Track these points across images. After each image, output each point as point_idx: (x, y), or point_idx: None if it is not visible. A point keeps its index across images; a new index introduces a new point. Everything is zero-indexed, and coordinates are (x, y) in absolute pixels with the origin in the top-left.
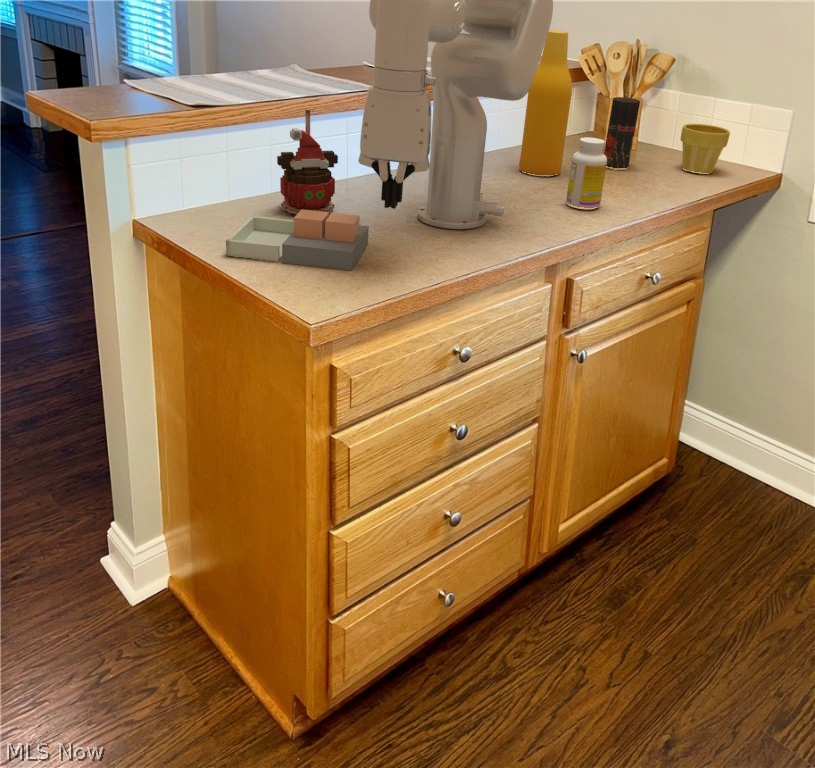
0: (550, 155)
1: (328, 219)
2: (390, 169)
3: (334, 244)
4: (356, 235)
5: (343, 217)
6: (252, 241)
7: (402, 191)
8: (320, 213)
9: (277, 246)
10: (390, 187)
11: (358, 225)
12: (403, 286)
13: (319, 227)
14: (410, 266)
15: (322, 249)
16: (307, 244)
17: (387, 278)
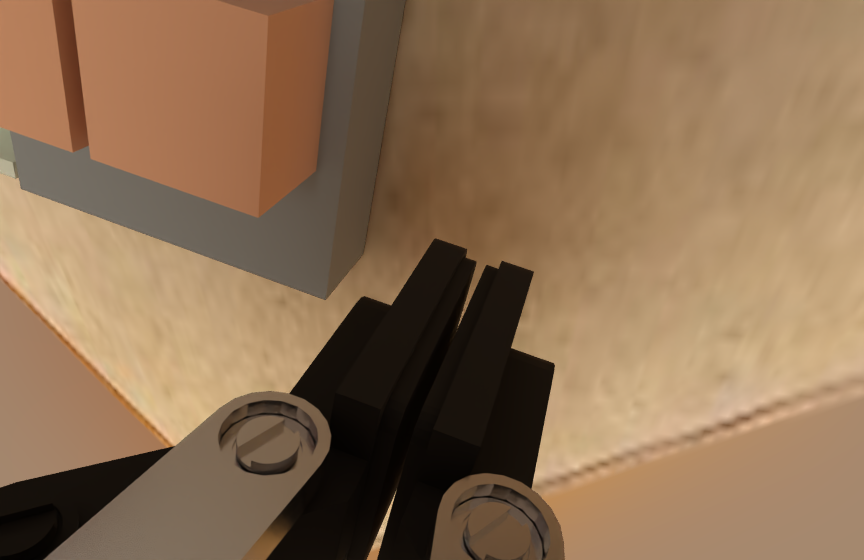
0: None
1: (96, 125)
2: (282, 514)
3: None
4: (319, 85)
5: (169, 76)
6: None
7: (545, 412)
8: None
9: (13, 175)
10: (379, 524)
11: (300, 38)
12: (571, 419)
13: None
14: (658, 216)
15: (194, 249)
16: (116, 195)
17: (514, 342)
